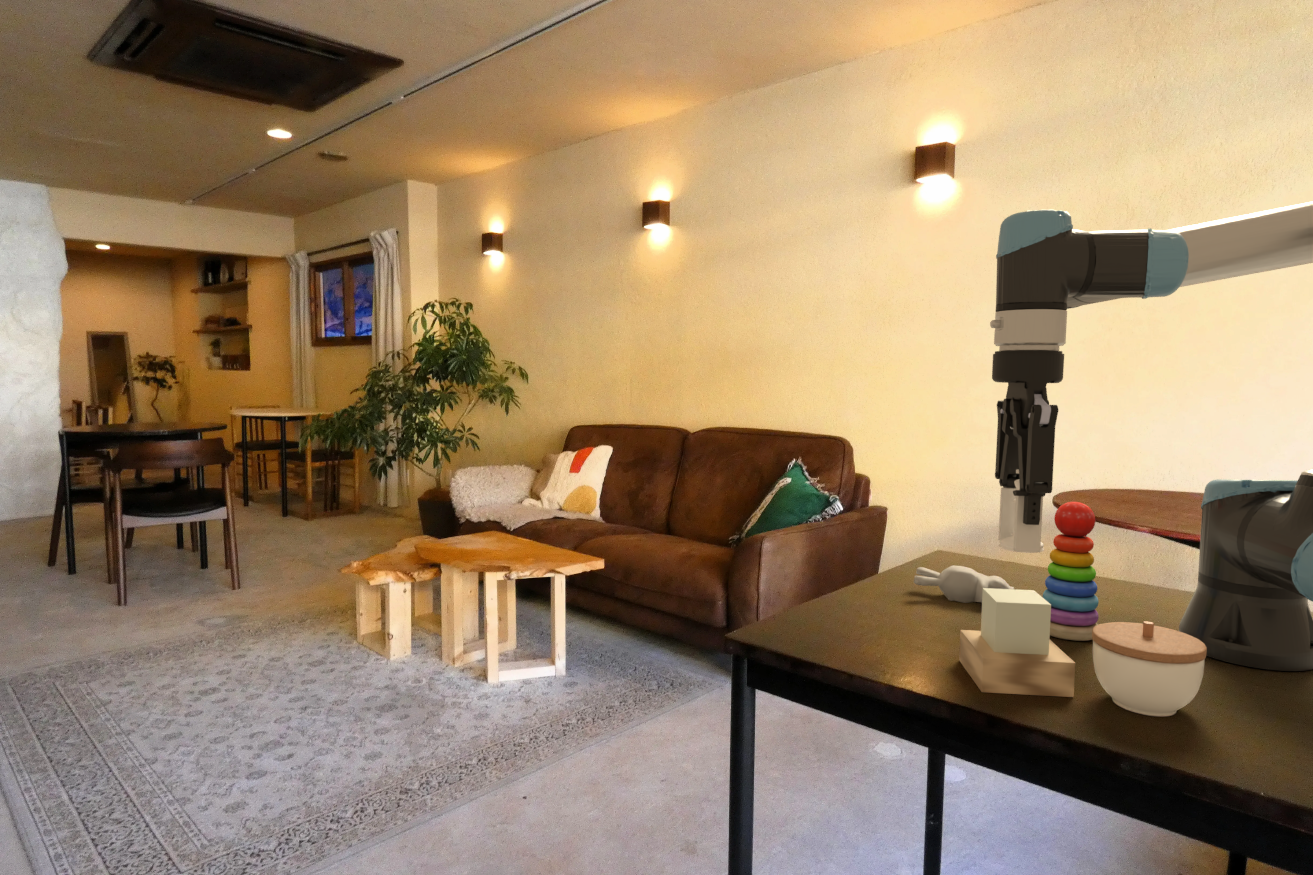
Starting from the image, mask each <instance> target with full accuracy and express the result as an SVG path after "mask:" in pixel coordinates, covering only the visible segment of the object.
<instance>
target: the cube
mask: <svg viewBox="0 0 1313 875" xmlns="http://www.w3.org/2000/svg"><path fill="white" fill-rule="evenodd" d="M980 618H981V620H980V621H981V622H980V623H981V624H980V631H981V636H982V637H983V639H984V640H985V641H986V642H987V644H988V645H989V646H990V647H991V648H992V650H993V651H994V652H1001V653H1020V654H1039V655H1049V639H1050V637H1051V636H1050V618H1051V604H1050V603H1049V602H1047V601H1046V600H1045V599H1044V598H1043V596H1042V595H1041V594H1039V593H1038V592H1037V591H1035V590H1033V589H1015V588H1014V589H994V588H983V593H982V602H981V616H980Z"/></svg>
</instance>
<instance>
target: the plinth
mask: <svg viewBox="0 0 1313 875" xmlns="http://www.w3.org/2000/svg"><path fill="white" fill-rule="evenodd" d="M959 632H960V634H959V635H960V637H959V656H958V657H959V658H958V659H959V662H960V664H961V665H962V667H963V668H964V669H965V671H966V672H967V674H968V675H969V676H970V677H971V679H972V681H973V682H974V684H976V686H977V687H978V689H979V690H980V692H981V693H987V694H988V693H991V694H992V693H993V694H1006V695H1007V694H1009V695H1011V694H1012V695H1027V696H1028V695H1030V696H1044V697H1045V696H1047V697H1064V698H1065V697H1067V698H1074V696H1075V695H1074V694H1075V679H1076V677H1075V674H1076V662H1075V661H1074V660H1073V659H1072V658H1071V657H1070V656H1068V655H1067V654H1066V653H1065V652H1064V651H1063V650H1062V649H1060V647H1059V646H1058V645H1056V643H1054V642H1053V641H1052V640H1051V639H1050V638H1049V655H1039V654H1020V653H1001V652H994V651H993V650H992V648H991V647H990V646H989V645H988V644H987V642H986V641H985V640H984V639H983V637H982V636H981V630H972V629H967V630H966V629H960V631H959Z"/></svg>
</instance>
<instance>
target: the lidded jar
mask: <svg viewBox="0 0 1313 875" xmlns="http://www.w3.org/2000/svg"><path fill="white" fill-rule="evenodd" d="M1092 639H1093V640H1092V663H1093V668H1094V672H1095V674H1096V678H1097V680H1098V682H1099V683H1100V686H1101V687H1102V688H1103V690H1105V692H1106V693H1107V694H1108V695H1109V696H1110V697H1111V700H1112V702H1113V703H1114V704H1115V705H1117V706H1118V707H1120V708H1122V709H1124V710H1126V711H1129V712H1131V713H1135V714H1139V715H1143V716H1149V717H1159V718H1160V717H1163V718H1164V717H1170V716H1171V717H1172V716H1175V715H1176V714H1177V711H1178V710H1180V709H1182V708H1184V707H1186V705H1189V704H1190V703H1191V702H1192V700H1194V699H1195V697H1196V695H1197V694H1198V692H1199V690H1200V687H1201V684H1202V681H1203V677H1204V672H1205V661H1206V660H1205V659H1206V658H1207V656H1206V653H1207V647H1206V646H1205V644H1204V643H1203V642H1202V641H1200V640H1199V639H1197V638H1195V637H1193V636H1190V635H1188V634H1186V633H1183V632H1180V631H1179V630H1175V629H1173V628H1168V627H1164V626H1159V625H1155V622H1152V621H1146V620H1144V621H1142V623H1140V622H1132V621H1131V622H1128V621H1127V622H1126V621H1113V622H1103V623H1100V624H1098V625H1097V626H1095V627H1094V628H1093V630H1092Z"/></svg>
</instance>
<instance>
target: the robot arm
mask: <svg viewBox="0 0 1313 875" xmlns="http://www.w3.org/2000/svg"><path fill="white" fill-rule="evenodd" d="M998 234H999V235H998V243H997V252H996V253H997V254H996V256H995V259H996V287H995V288H996V289H995V290H996V291H995V292H996V293H995V295H996V296H995V316H994V318H995V319H992V320H991V321H990V323H989V325H990V328H991V329H994V332H993V333H994V334H993V335H994V337H993V338H994V339H993V345H995V347H999V350H998V351H994V353H992V369H991V370H992V371H991V372H992V373H991V379H992V381H993V382H995V383H1008V386H1007V391H1006V394H1005V398H1003V400H998V401H997V403H996V411H997V432H996V453H995V471H994V478H995V479H996V480H998V482H999V483H998V484H999V486H1000V498H999V500H1000V501H999V502H1000V503H999V520H998V521H999V523H998V539H997V540H998V541H1000V540H1001V539H1003V538H1007V537H1012V536H1013V535H1011V533H1014V548H1013V550H1014V551H1015V552H1016V553H1022V552H1038V553H1039V554H1040V553H1041V552H1040V546H1041V542H1042V540H1041V539H1042V525H1043V524H1042V523H1043V504H1044V503H1043V502H1044V498H1045V496H1046V494H1051V493H1052V492H1053V482H1054V480H1053V479H1054V478H1053V477H1054V460H1055V459H1054V457H1055V438H1056V437H1055V436H1056V425H1057V419H1058V416H1059V415H1058V414H1059V406H1058V405H1057V404H1050V402H1049V401H1050V400H1049V399H1048V398H1049V397H1048V394H1047V393H1048V392H1047V389H1048V388H1047V385H1048V384H1060V383H1061V382H1062V381H1063V379H1064V368H1065V367H1064V366H1065V365H1064V364H1065V353H1063V351H1062V350H1060V347H1062V346H1064V345H1066V343H1067V341H1066V340H1067V322H1068V321H1067V320H1068V311H1067V310H1068V309H1075V308H1079V307H1083V306H1087V305H1091V304H1098V303H1103V302H1108V301H1113V300H1118V299H1127V298H1128V299H1129V298H1131V299H1132V298H1135V299H1136V298H1141V299H1143V300H1145V299H1148V298H1163V297H1168V296H1170V295H1172V294H1174V293H1175V292H1176V291H1178V290H1179V288H1183V287H1188V286H1195V285H1199V284H1203V283H1210V282H1215V281H1221V280H1226V279H1227V280H1228V279H1231V278H1237V277H1243V276H1248V275H1254V274H1259V273H1264V272H1269V271H1276V270H1281V269H1286V268H1287V269H1288V268H1290V267H1297V266H1302V265H1308V264H1313V201H1309V202H1308V201H1307V202H1304V203H1299V204H1293V205H1288V206H1284V207H1283V206H1282V207H1277V208H1273V209H1268V210H1263V211H1257V212H1252V213H1249V214H1242V215H1238V216H1232V217H1226V218H1222V219H1217V220H1212V221H1207V222H1201V223H1198V224H1192V225H1185V226H1182V227H1181V226H1180V227H1176V228H1171V229H1165V230H1162V229H1152V228H1149V227H1148V228H1147V229H1125V230H1123V229H1121V230H1120V229H1119V230H1080V229H1074V225H1073V224H1072V216H1071V214H1070V213H1069V212H1068V211H1067V210H1066V211H1065V210H1056V209H1034V210H1026V211H1025V210H1024V211H1019V212H1016V213H1014V214H1010V215H1009V216H1007V217H1005V218H1004V219H1003V220H1002V222H1001V224H1000V228H999V233H998ZM1016 469H1019V474H1018V473H1016ZM1018 479H1019V483H1020V490H1017V489H1016V486H1015V483H1014V481H1015V480H1018ZM1014 499H1016V503H1014V502H1013V501H1014ZM1200 508H1201V524H1200V539H1199V540H1200V542H1199V556H1198V574H1197V586H1196V589H1195V591H1194V593H1193V595H1192V596H1191V599H1190V601H1189V603H1188V605H1187V607H1186V609H1185V612H1184V613H1183V615H1182V618H1181V619H1180V622H1179V626H1178V631H1180V632H1183V633H1186V634H1188V635H1190V636H1193V637H1195V638H1197V639H1199V640H1200V641H1202V642H1203V643H1204V644H1205V646H1206V647H1207V653H1206V657H1208V658H1211V659H1215V660H1219V661H1223V662H1226V663H1230V664H1234V665H1239V666H1244V667H1249V668H1255V669H1262V670H1269V671H1270V670H1271V671H1283V672H1284V671H1285V672H1301V671H1310V670H1313V615H1312V612H1311V609H1310V608H1311V607H1310V605H1309V602H1308V600H1309V601H1310V602H1313V467H1312V468H1310V469H1306V470H1304V471H1301V473H1300V475H1299V477H1298V480H1293V479H1292V480H1289V479H1287V480H1286V479H1235V478H1234V479H1232V478H1231V479H1230V478H1229V479H1227V478H1223V479H1222V478H1221V479H1220V478H1216V479H1213V480H1210V481H1209V482H1208V483H1207V484H1206V485H1205V487H1204V492H1203V496H1202V502H1201V504H1200Z"/></svg>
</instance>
